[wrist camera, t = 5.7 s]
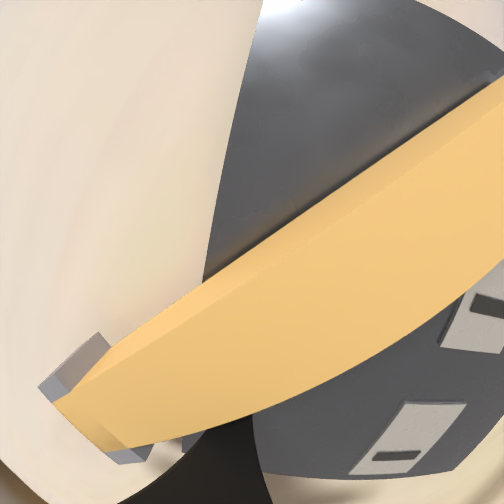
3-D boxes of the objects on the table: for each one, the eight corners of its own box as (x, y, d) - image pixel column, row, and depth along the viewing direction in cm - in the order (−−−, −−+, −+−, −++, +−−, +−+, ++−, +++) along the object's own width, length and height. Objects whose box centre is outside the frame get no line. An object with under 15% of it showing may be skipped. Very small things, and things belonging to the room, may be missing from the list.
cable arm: (493, 54, 5) (543, 32, 2) (545, 162, 6) (598, 170, 3) (77, 348, 10) (37, 387, 8) (144, 418, 11) (118, 464, 8)
